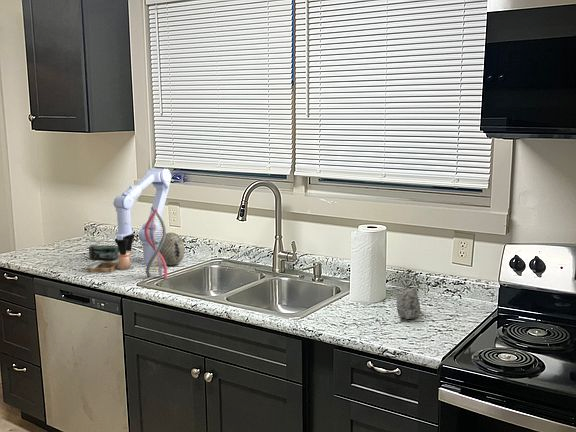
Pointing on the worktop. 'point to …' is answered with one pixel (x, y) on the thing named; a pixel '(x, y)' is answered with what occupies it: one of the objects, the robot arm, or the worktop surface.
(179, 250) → the decorative egg
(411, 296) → the rock
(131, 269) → the coaster
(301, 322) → the worktop surface
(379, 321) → the worktop surface
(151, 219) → the dna model
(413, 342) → the worktop surface
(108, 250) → the sculpture
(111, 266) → the cold frame
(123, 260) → the pot
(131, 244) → the robot arm
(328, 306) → the worktop surface
